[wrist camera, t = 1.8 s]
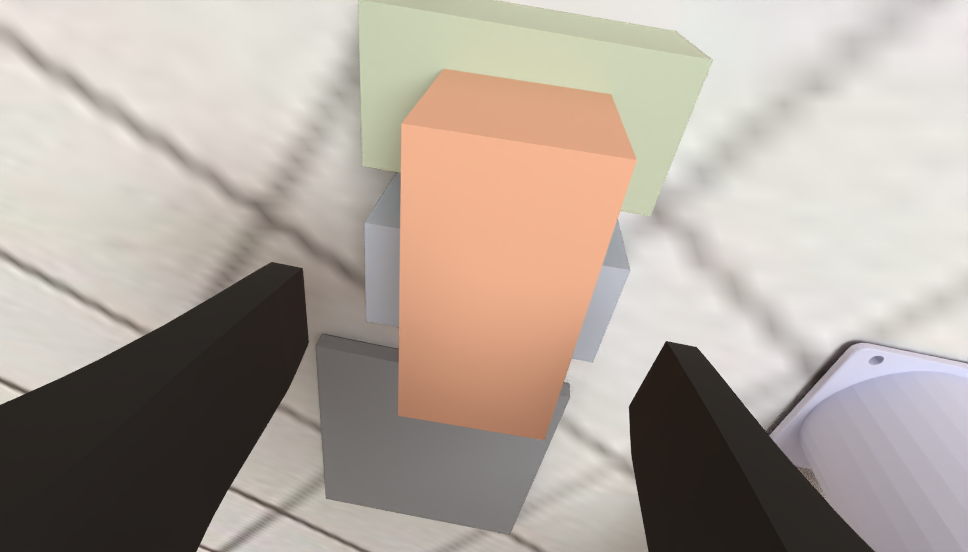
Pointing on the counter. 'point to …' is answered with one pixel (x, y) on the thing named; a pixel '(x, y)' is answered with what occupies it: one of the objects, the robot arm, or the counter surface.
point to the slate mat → (415, 447)
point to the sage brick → (528, 71)
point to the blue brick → (386, 274)
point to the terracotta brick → (501, 244)
